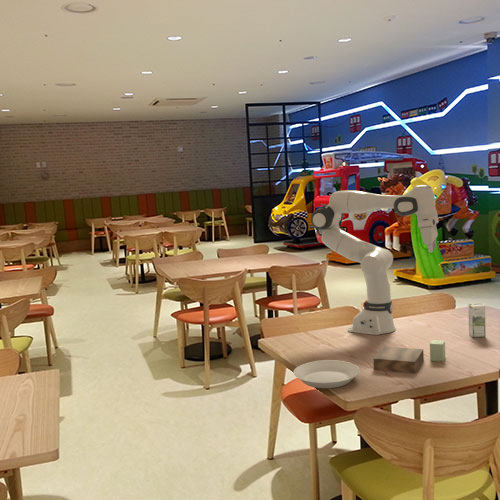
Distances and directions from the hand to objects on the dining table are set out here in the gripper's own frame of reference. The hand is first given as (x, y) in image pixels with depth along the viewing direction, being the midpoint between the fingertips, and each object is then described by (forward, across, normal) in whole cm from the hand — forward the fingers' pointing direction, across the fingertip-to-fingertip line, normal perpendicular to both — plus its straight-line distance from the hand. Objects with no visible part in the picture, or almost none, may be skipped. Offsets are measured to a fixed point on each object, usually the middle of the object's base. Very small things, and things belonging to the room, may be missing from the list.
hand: (432, 250), depth 260 cm
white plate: (+34, +68, -35) cm, 84 cm away
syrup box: (+41, 0, +13) cm, 43 cm away
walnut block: (+37, +46, -12) cm, 60 cm away
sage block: (+38, +36, +1) cm, 52 cm away
